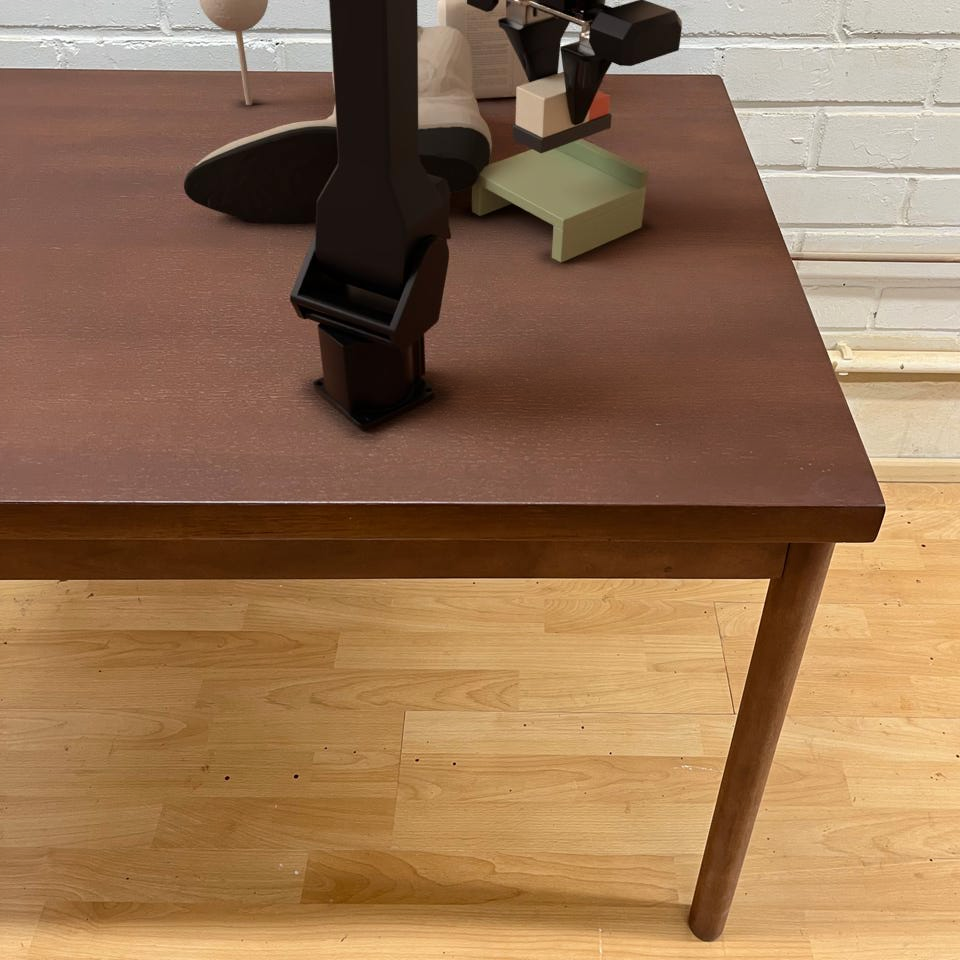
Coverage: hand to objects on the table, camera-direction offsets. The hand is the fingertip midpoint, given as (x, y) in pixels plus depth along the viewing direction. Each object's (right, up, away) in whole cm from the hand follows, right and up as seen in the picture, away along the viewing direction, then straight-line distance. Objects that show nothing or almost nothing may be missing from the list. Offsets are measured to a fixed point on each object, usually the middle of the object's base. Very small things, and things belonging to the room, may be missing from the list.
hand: (562, 116), depth 84 cm
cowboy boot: (-19, +2, +16) cm, 25 cm away
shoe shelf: (0, -7, +8) cm, 10 cm away
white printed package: (-6, +13, +30) cm, 34 cm away
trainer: (0, -1, +1) cm, 2 cm away
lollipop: (-32, +11, +28) cm, 44 cm away
